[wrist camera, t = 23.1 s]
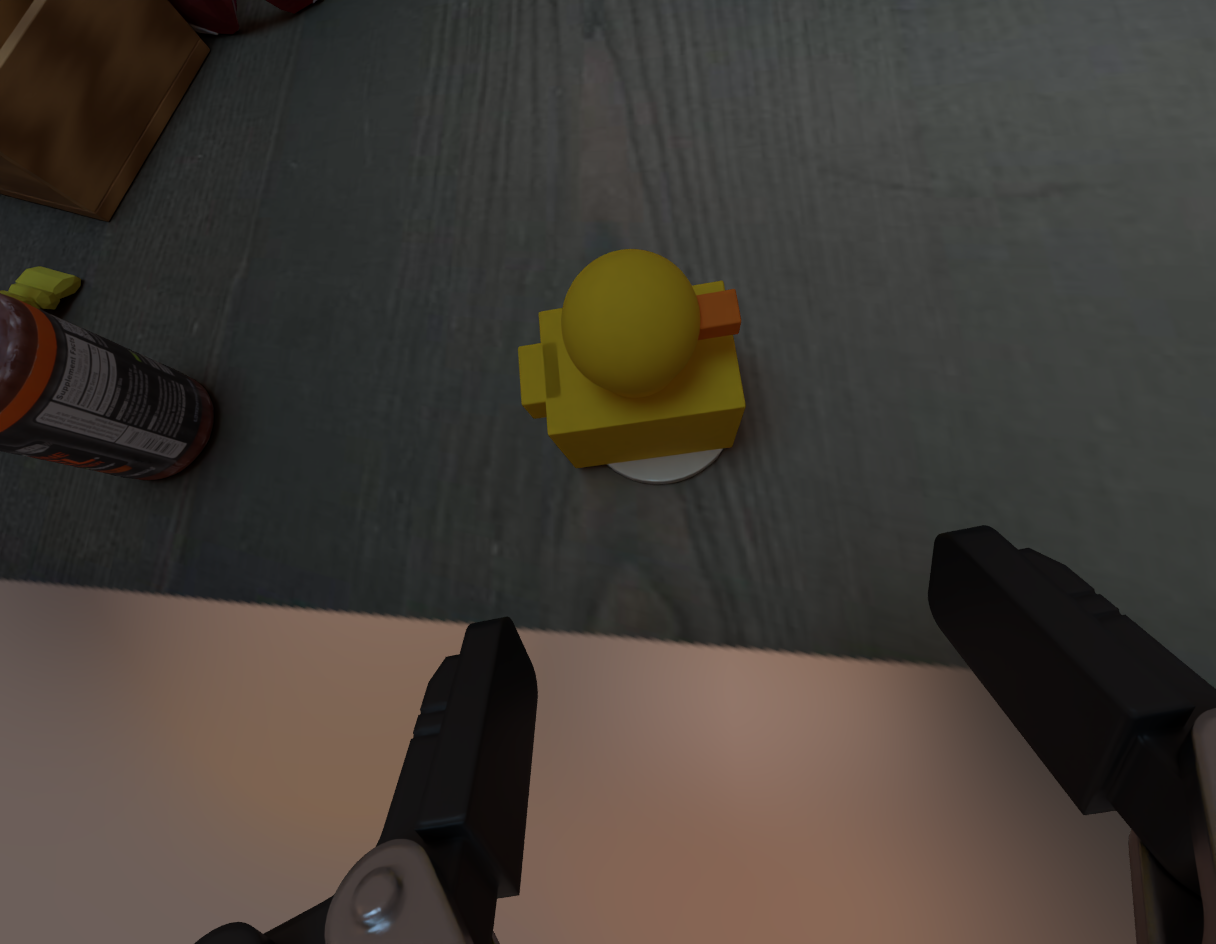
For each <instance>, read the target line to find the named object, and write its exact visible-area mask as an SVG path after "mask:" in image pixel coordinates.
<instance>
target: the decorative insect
mask: <svg viewBox="0 0 1216 944" xmlns="http://www.w3.org/2000/svg"><path fill="white" fill-rule="evenodd" d="M15 282H16V284H12V285H11V287H10V289H9V291H8V292H7V291H4V290H3V291H0V293H1V294H4V295H7V296H9V297H13V298H15V299H18V300H20V301H22V302H24V303H27V304H29V305H31V306H33V307H35V308H38V309H40V308H43V309H56V307H57V305H58V304H59V302H60V299H61V298H64V297H66V296H69V295H71V294H74V293H75V292H76V291H77V290H78V288H79V287H80V286H81V279H80V278H78V277H76V276H73V275H70V274H66V273H62V272H59V271H55V270H51V269H48V268H44V267H40V266H39V267H34V268H29V269H26V270H25V271H24V272H23V274H22V275H21V276H20V277H19V278H18V279H17V280H16V281H15Z"/></svg>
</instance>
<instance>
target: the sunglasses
mask: <svg viewBox="0 0 1216 944" xmlns="http://www.w3.org/2000/svg"><path fill="white" fill-rule="evenodd" d="M168 1H169V2H170V3H171V4H172V6H173V7H174V8H175V9H176V10H177V11H178V13H179V14H180V15H181V16H182V17H183V18H184V19H185V21H186V22H187V23H188V24H189V25H190V26H191V28H192V29H193V30H194V31H196V32H200V33H206V34H213V35H218V33H220V34H234V33H235V32H236V31H237V30H239V24H238V19H237V14H236V11H237V5H236V0H168ZM266 1H268V2H269V3H271V4H273V5H274V6H276V7H278V8H279V9H281V10H284V11H287V12H290V13H294V14H295V13H296V12H298V11H300V10H301V9H303V8H305V7H306V6H308V5H309V4H311V3H314V2H315V1H317V0H266Z"/></svg>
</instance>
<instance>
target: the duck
mask: <svg viewBox="0 0 1216 944" xmlns="http://www.w3.org/2000/svg"><path fill="white" fill-rule="evenodd" d="M539 325H540V338H541V343H539V344H533V345H527V346H521V347H519V348H518V355H519V370H520V386H521V401H522V405H523V407H524V408H525V409H526V410H527V411H528V413H529V414H530V415H531V416H532V417H533V418H535V419H536V418H542V417H547V429H548V435H549V437H550V438H551V439H552V440H553V441H554V443H555V444H556V445H557V446H558V447H559V449H560V450H561V451H562V452H563V453H564V455H565V456H566V457H567V458H568V459H569V461H570V462H571V463H572V464H573V465H574V467H575V468H582V467H590V466H597V465H604V464H612V463H619V462H626V461H634V460H641V459H648V458H656V457H663V456H670V455H678V454H685V453H693V452H700V451H707V450H715V449H722V448H729V447H732V446H733V443H734V440H735V437H736V434H737V431H738V428H739V425H740V422H741V419H742V416H743V413H744V410H745V407H746V404H745V399H744V393H743V388H742V382H741V377H740V371H739V365H738V360H737V354H736V349H735V343H734V338H733V335H734V334H738V333H739V330H740V325H741V316H740V311H739V306H738V300H737V295H736V291H735V289H730V290H725V288H724V282H723V281H717V282H711V283H705V284H700V285H694V286H692V285H691V284H690V282H689V280H688V279H687V277H686V276H685V275H684V274H683V272H682V271H681V270H680V269H679V268H678V267H677V266H676V265H674V264H673V263H672V262H670V261H669V260H667V259H666V258H664V257H662V256H660V255H658V254H655V253H653V252H649V251H645V250H639V249H624V250H618V251H614V252H610V253H608V254H605V255H603V256H601V257H599V258H597V259H596V260H594V261H593V262H591V263H590V264H589V265H588V266H586V267H585V268H584V269H583V270H582V271H581V272H580V273H579V274H578V276H577V277H576V278H575V280H574V281H573V283H572V285H571V286H570V288H569V290H568V292H567V295H566V297H565V300H564V304H563V308H560V309H554V310H548V311H542V312H539Z"/></svg>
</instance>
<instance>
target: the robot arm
mask: <svg viewBox="0 0 1216 944" xmlns="http://www.w3.org/2000/svg"><path fill="white" fill-rule="evenodd" d="M928 601H929V606H930V609H931V612H932V615H933V617H934V619H935V621H936V623H937V625H938V627H939V628H940V629H941V631H942V632H943V633H944V635H945V636H946V637H947V639H948V640H949V641H950V642H951V644H952V645H953V646H954V648H955V649H956V650H957V652H958V653H959V654H960V655H961V657H962V658H963V659H964V661H965V662H966V663H967V665H968V666H969V667H970V668H971V670H972V671H973V672H974V674H975V675H976V676H977V678H978V679H979V680H980V681H981V683H982V684H983V685H984V687H985V688H986V689H987V690H988V692H989V693H990V694H991V696H992V697H993V698H994V700H995V701H996V702H997V703H998V705H999V706H1000V707H1001V709H1002V710H1003V711H1004V713H1005V714H1006V715H1007V716H1008V717H1009V719H1010V720H1011V722H1012V723H1013V724H1014V726H1015V727H1016V728H1017V729H1018V731H1019V732H1020V733H1021V735H1022V736H1023V737H1024V739H1025V740H1026V741H1027V742H1028V744H1029V745H1030V746H1031V748H1032V749H1033V750H1034V751H1035V753H1036V754H1037V755H1038V757H1039V758H1040V759H1041V761H1042V762H1043V763H1044V764H1045V766H1046V767H1047V768H1048V770H1049V771H1050V772H1051V773H1052V775H1053V776H1054V778H1055V779H1056V780H1057V781H1058V783H1059V784H1060V785H1061V787H1062V788H1063V789H1064V790H1065V792H1066V793H1067V794H1068V796H1069V797H1070V798H1071V800H1072V801H1073V802H1074V804H1075V805H1076V806H1077V807H1078V809H1079V810H1080V811H1081V813H1082V814H1083V815H1089V814H1096V813H1103V812H1109V811H1117V812H1118V813H1119V814H1120V815H1121V817H1122V818H1123V819H1124V820H1125V821H1126V823H1127V824H1128V825H1129V826H1130V828H1131V831H1130V834H1129V841H1128V845H1129V857H1130V869H1131V881H1132V893H1133V905H1134V917H1135V929H1136V941H1137V944H1216V689H1215V688H1213V687H1212V686H1211V685H1210V684H1209V683H1207V682H1206V681H1205V680H1204V679H1203V678H1201V677H1200V676H1199V675H1198V674H1197V673H1195V672H1194V671H1193V670H1192V669H1190V668H1189V667H1188V666H1187V665H1186V664H1184V663H1183V662H1182V661H1181V660H1180V659H1178V658H1177V657H1176V656H1175V655H1174V654H1172V653H1171V652H1170V651H1169V650H1167V649H1166V648H1165V647H1164V646H1163V645H1161V644H1160V643H1159V642H1158V641H1157V640H1155V639H1154V638H1153V637H1152V636H1151V635H1149V634H1148V633H1147V632H1146V631H1144V630H1143V629H1142V628H1141V627H1140V626H1138V625H1137V624H1136V623H1135V622H1134V621H1132V620H1131V619H1130V618H1129V617H1127V616H1126V615H1121V614H1120V613H1119V609H1118V608H1117V607H1115V606H1114V605H1113V604H1112V603H1111V602H1109V601H1108V600H1107V599H1106V598H1104V597H1103V596H1102V595H1101V594H1096V593H1095V591H1094V588H1092V587H1091V586H1090V585H1089V584H1088V583H1086V582H1085V581H1084V580H1083V579H1081V578H1080V577H1079V576H1078V575H1077V574H1075V573H1074V572H1073V571H1072V570H1071V569H1069V568H1068V567H1067V566H1066V565H1064V564H1062V563H1060V562H1057V561H1055V560H1053V559H1051V558H1049V557H1047V556H1045V555H1043V554H1041V553H1039V552H1037V551H1034V550H1032V549H1030V548H1025V549H1020V550H1018V549H1017V548H1015V547H1014V546H1013V545H1012V544H1011V543H1010V542H1009V541H1007V540H1006V539H1005V538H1004V537H1003V536H1002V535H1001V534H1000V533H998V532H997V531H996V530H995V529H993V528H991V527H989V526H986V525H982V526H977V527H972V528H967V529H962V530H957V531H952V532H946V533H941V534H939V535H938V536H937V537H936V539H935V542H934V549H933V557H932V565H931V573H930V581H929V589H928ZM537 699H538V691H537V680H536V675H535V671H534V667H533V665H532V663H531V660H530V658H529V656H528V654H527V652H526V649H525V647H524V645H523V643H522V641H521V639H520V636H519V634H518V632H517V630H516V628H515V625H514V623H513V621H512V620H511V619H510V618H509V617H502V618H497V619H492V620H487V621H482V622H477V623H472V624H470V625H469V626H468V627H467V629H466V632H465V637H464V640H463V644H462V648H461V651H460V654H459V655H453V656H448V657H446V658H445V659H444V661H443V662H442V664H441V665H440V666H439V668H438V669H437V671H436V672H435V674H434V675H433V677H432V678H431V679H430V681H429V683H428V686H427V689H426V692H425V695H424V699H423V702H422V705H421V708H420V711H421V714H420V715H418V718H417V721H416V725H415V728H414V731H413V734H414V737H413V739H411V741H410V744H409V748H408V751H407V754H406V758H405V760H404V763H403V767H402V770H401V773H400V776H399V780H398V783H397V786H396V790H395V793H394V796H393V799H392V802H391V806H390V809H389V812H388V815H387V819H386V822H385V825H384V828H383V831H382V834H381V837H380V839H379V841H378V843H377V845H376V847H375V848H373V849H372V850H371V851H369V852H368V853H367V854H365V855H364V856H363V857H362V858H361V859H360V860H359V861H358V862H357V863H356V864H355V865H354V866H353V867H352V868H351V870H350V871H349V872H348V874H347V875H346V876H345V878H344V879H343V880H342V882H341V884H340V886H339V887H338V889H337V891H336V893H335V894H334V895H333V896H332V897H330V898H328V899H327V900H325V901H324V902H322V903H320V904H318V905H316V906H314V907H313V908H311V909H309V910H307V911H305V912H303V913H302V914H299V915H298V916H296V917H294V918H292V919H290V920H288V921H286V922H285V923H283V924H281V925H279V926H277V927H275V928H273V929H272V930H270V931H268V932H266V933H264V934H262V933H261V932H259V931H258V930H256V929H255V928H254V927H252V926H251V925H249V924H246V923H242V922H234V923H229V924H226V925H223V926H221V927H218V928H216V929H214V930H212V931H211V932H209V933H208V934H206V935H205V936H203V937H202V938H201V939H199V940H198V941H197V942H196V943H195V944H500V943H499V941H498V939H497V937H496V935H495V933H494V932H493V926H494V918H495V910H496V902H497V898H504V897H511V896H517V895H519V893H520V882H521V872H522V861H523V850H524V839H525V829H526V818H527V807H528V796H529V785H530V775H531V763H532V753H533V742H534V731H535V721H536V710H537Z"/></svg>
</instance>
